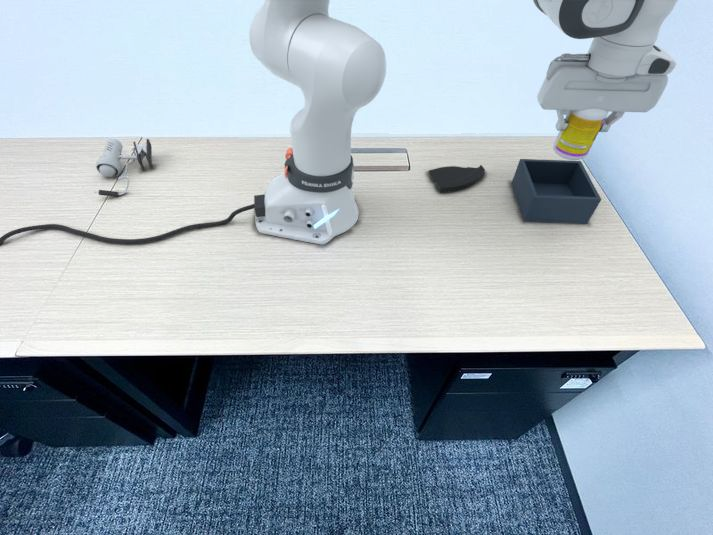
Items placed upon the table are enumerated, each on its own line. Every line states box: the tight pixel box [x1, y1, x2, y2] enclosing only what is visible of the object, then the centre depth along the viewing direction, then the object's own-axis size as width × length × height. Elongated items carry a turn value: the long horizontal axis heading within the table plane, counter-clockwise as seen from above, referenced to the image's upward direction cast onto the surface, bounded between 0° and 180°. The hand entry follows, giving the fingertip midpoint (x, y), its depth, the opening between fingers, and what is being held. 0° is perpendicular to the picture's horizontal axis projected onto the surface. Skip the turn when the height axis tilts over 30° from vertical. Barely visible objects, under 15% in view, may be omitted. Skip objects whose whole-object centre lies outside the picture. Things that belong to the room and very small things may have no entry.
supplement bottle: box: [552, 96, 609, 161], centre depth 77 cm, size 7×7×13 cm
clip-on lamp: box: [94, 138, 154, 198], centre depth 95 cm, size 12×6×18 cm
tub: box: [511, 158, 602, 225], centre depth 88 cm, size 14×14×7 cm
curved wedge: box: [428, 164, 486, 194], centre depth 96 cm, size 8×14×2 cm, turn 103°
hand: (580, 129), depth 77 cm, fingers closed on supplement bottle, 6 cm apart
